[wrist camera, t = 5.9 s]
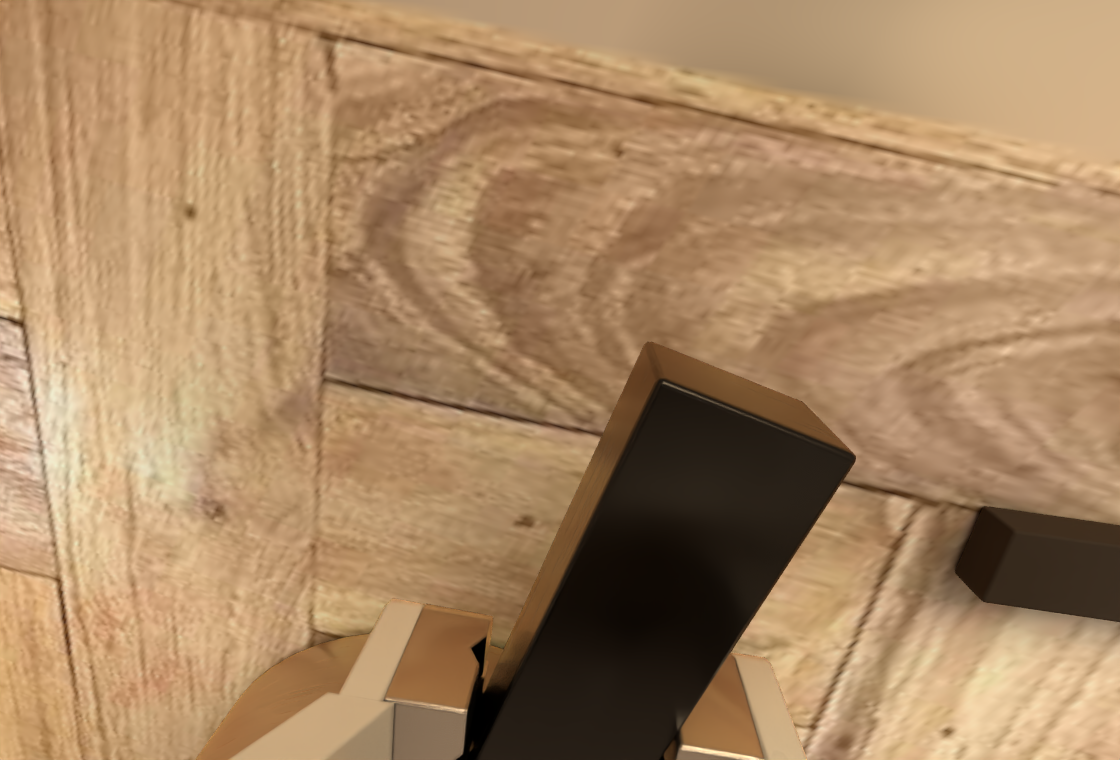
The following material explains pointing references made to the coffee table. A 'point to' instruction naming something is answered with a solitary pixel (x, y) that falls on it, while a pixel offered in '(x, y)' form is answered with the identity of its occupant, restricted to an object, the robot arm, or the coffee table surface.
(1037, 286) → the coffee table surface
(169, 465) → the coffee table surface
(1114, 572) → the spatula
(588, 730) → the saucepan
